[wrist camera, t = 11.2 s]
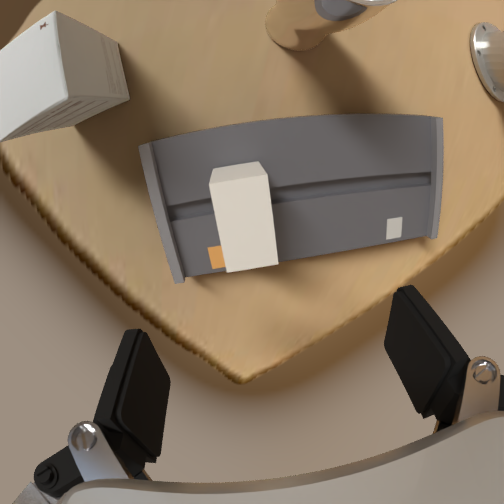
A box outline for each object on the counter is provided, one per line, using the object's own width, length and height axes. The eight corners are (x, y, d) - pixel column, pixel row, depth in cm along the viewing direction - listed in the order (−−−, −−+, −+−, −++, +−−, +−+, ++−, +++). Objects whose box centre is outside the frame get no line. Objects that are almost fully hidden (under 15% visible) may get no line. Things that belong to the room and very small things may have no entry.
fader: (257, 159, 25) (267, 174, 19) (266, 228, 29) (278, 264, 22) (213, 166, 25) (208, 184, 19) (226, 235, 29) (226, 272, 22)
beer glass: (327, 60, 23) (411, 26, 10) (257, 50, 22) (289, -11, 9) (330, 5, 20) (404, -54, 7) (263, -7, 19) (294, -89, 6)
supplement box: (60, 69, 20) (-17, 61, 9) (119, 40, 20) (56, 6, 9) (72, 128, 24) (-5, 145, 13) (132, 102, 24) (69, 97, 12)
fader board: (421, 115, 26) (442, 117, 22) (419, 225, 32) (437, 238, 29) (149, 141, 26) (138, 145, 22) (180, 264, 32) (175, 283, 29)
